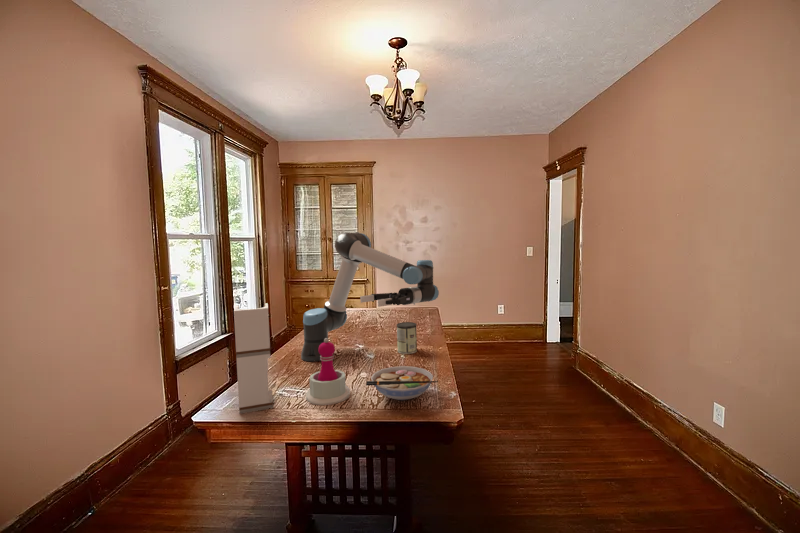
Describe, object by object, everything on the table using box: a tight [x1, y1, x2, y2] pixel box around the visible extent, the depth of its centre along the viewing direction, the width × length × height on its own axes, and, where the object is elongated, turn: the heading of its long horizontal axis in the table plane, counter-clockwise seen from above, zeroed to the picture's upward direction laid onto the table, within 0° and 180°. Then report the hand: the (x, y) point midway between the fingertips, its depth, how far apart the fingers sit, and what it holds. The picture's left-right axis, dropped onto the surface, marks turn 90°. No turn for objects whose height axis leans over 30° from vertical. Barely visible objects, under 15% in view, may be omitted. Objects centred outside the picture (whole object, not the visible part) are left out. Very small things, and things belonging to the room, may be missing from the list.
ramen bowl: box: [365, 365, 439, 401], centre depth 133 cm, size 25×23×8 cm
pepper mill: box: [318, 337, 338, 381], centre depth 135 cm, size 7×7×20 cm
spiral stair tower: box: [233, 302, 274, 414], centre depth 129 cm, size 11×11×35 cm
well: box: [305, 369, 351, 406], centre depth 135 cm, size 16×16×8 cm
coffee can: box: [396, 321, 418, 355], centre depth 188 cm, size 10×10×14 cm
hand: (369, 301), depth 152 cm, fingers open, 13 cm apart
